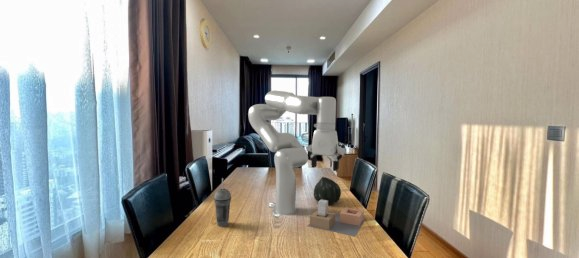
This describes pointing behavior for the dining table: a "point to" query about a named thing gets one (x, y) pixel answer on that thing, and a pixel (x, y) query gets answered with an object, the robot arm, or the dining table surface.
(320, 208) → the peg
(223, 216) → the beverage cup
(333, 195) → the squash
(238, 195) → the dining table surface
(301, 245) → the dining table surface
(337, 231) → the dock plate
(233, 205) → the dining table surface
